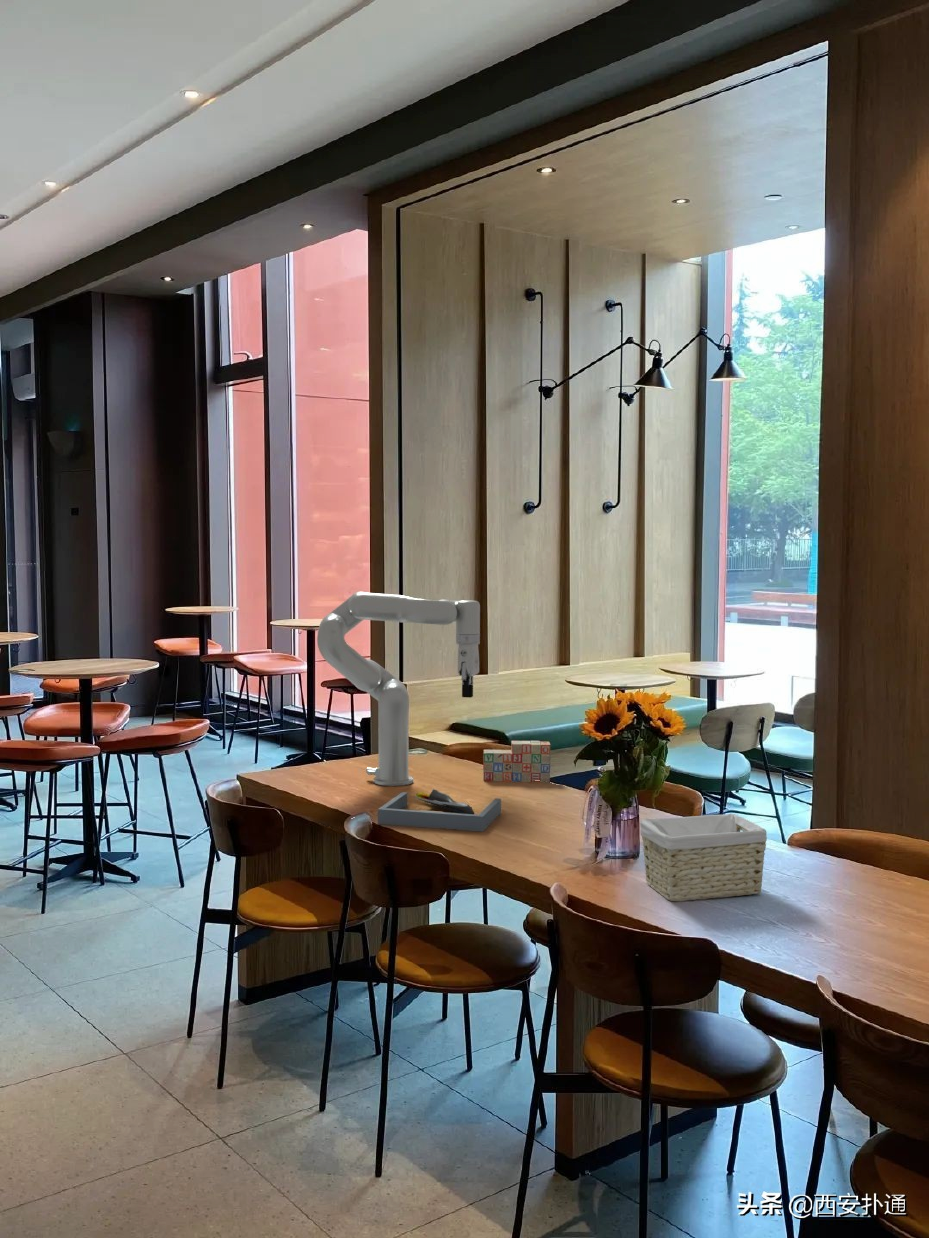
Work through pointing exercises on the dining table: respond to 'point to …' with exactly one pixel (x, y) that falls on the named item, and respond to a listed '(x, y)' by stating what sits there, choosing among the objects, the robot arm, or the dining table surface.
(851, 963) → the dining table surface
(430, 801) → the toy plane
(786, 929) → the dining table surface
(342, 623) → the robot arm
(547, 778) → the stack of blocks
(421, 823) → the u-shaped frame
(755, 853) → the storage basket
